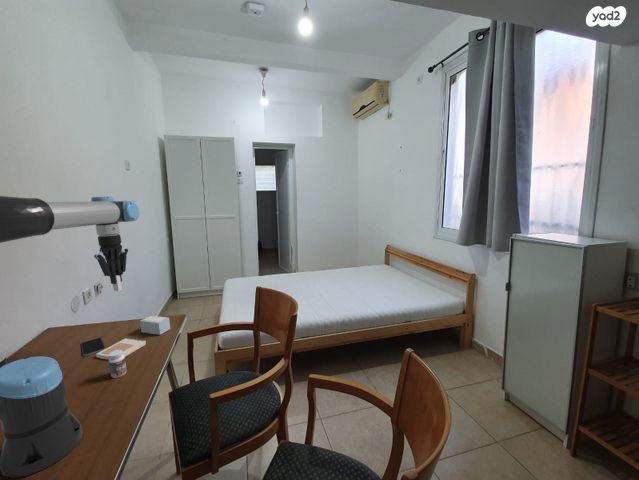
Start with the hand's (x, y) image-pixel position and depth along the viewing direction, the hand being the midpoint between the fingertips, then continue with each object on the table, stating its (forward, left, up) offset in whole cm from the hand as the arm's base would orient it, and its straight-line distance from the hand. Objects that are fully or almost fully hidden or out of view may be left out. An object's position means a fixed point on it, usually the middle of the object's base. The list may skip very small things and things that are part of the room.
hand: (118, 290), depth 121 cm
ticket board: (-4, -3, -24) cm, 25 cm away
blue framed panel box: (+13, -3, -24) cm, 27 cm away
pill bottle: (-17, -17, -25) cm, 34 cm away
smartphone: (-5, +13, -25) cm, 29 cm away
